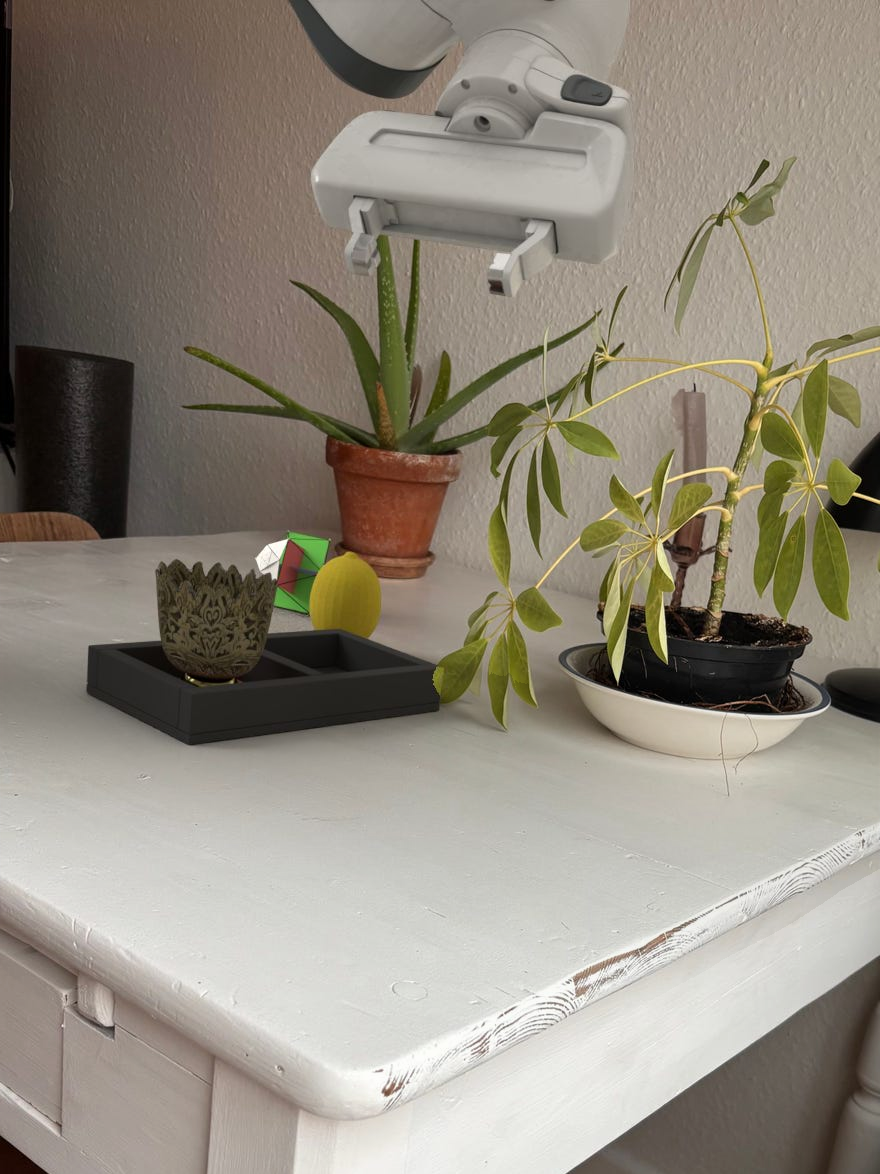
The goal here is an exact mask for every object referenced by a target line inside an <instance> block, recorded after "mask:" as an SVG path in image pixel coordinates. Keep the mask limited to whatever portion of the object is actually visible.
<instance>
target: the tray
mask: <svg viewBox="0 0 880 1174" xmlns="http://www.w3.org/2000/svg"><path fill="white" fill-rule="evenodd" d="M437 666H439V665H438V664H436V663H433V662H430V661H427V660H424V659H422V658H419V657H417V656H415V655H411V654H408V653H406V652H403V651H401V650H398V649H395V648H393V647H390V646H387V645H385V644H382V643H380V642H377V641H374V640H371V639H369V638H368V639H366V638H364V637H361V636H358V635H356V634H353V633H350V632H347V631H345V630H342V629H327V630H315V629H314V630H312V629H311V630H297V631H284V632H282V631H281V632H268V635H267V639H266V643H265V646H264V650H263V652H262V655H261V657H260V659H259V661H258V662H257V664H256V665H255V666H254V668H252V669H251V670H250V671H249V672H248V673H246V674H244V675H242V676H239V677H236V678H237V681H238V683H233V684H223V685H213V686H203V687H196V686H194V685H191V684H189V683H187V682H185V681H183V680H181V676H182V674H183V673H184V672H182V671H181V670H179V669H178V668H176V667H175V666H174V665H173V664H172V663H171V662H170V661H169V659H168V658H167V656H166V654H165V652H164V650H163V647H162V643H161V640H149V641H148V640H147V641H134V642H133V641H132V642H117V643H102V644H101V643H100V644H89V645H87V669H86V670H87V671H86V672H87V673H86V693H87V694H88V695H91V696H92V697H94V698H97V699H98V700H100V701H103V702H104V703H106V704H108V705H110V706H112V707H114V708H116V709H118V710H120V711H122V712H124V713H126V714H128V715H130V716H132V717H133V718H135V719H137V720H140V721H141V722H143V723H145V724H147V725H149V726H151V727H153V728H155V729H157V730H159V731H161V732H163V733H165V734H167V735H169V736H171V737H173V738H175V739H177V740H179V741H181V742H183V743H184V744H187V745H188V746H190V745H197V744H204V743H212V742H220V741H228V740H235V739H241V738H248V737H255V736H256V737H257V736H262V735H264V736H265V735H270V734H271V735H272V734H277V733H278V734H279V733H285V732H293V731H300V730H306V729H307V730H308V729H314V728H320V727H329V726H336V725H342V724H350V723H358V722H364V721H373V720H378V719H380V720H381V719H387V718H393V717H394V718H395V717H401V716H402V717H403V716H408V715H410V716H411V715H415V714H423V713H428V712H429V713H430V712H438V711H440V706H441V699H442V698H440V695H439V693H438V692H437V690H436V688H435V686H434V685H433V683H434V681H433V680H432V679H433V674H434V671H435V670H436V667H437Z"/></svg>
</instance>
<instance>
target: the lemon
mask: <svg viewBox="0 0 880 1174" xmlns="http://www.w3.org/2000/svg"><path fill="white" fill-rule="evenodd" d="M324 564H325V563H324ZM381 589H382V588H381V584H380V580H379V577H378V575H377V573H376V572H375V570H374V568H372V566H371V565H370V564H368V562H366V561H364V560H363V559H361V558H360V557H359V556H358V554H357V553H356V552H353V551H346V552H345V553H344V555H340V556H336V557H333V558H331V559H330V560H329V561H326V564H325V565H323V567H322V568H321V569H320V570H319V572H318V574H317V576H316V578H315V580H314V583H313V586H312V590H311V594H310V615H309V616H310V621H311V624H312V627H313V629H314V630H327V629H342V630H345V631H347V632H350V633H353V634H356V635H358V636H361V637H364V638H366V639H369V638H370V637H371V636H372V635H373V633H374V632H375V630H376V628H377V626H378V623H379V620H380V616H381V611H382V590H381Z"/></svg>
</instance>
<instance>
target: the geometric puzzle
mask: <svg viewBox="0 0 880 1174" xmlns="http://www.w3.org/2000/svg"><path fill="white" fill-rule="evenodd" d="M285 535H286V536H285ZM284 536H285V539H282V540H280V538H278V539H277V540H276V541H275V542H270V543H267V544H266V545H265V546H264V547H263V549H261V551H260V552H259V553H258V555H257V556H256V557H254V560H255V562H256V565H257V569H258V572H259V574H261V575H264V574H265V573H269V572H270V573H271V575H272V580H273V579H275V578H276V580H277V591H276V597H275V602H274V607H278V608H282V609H285V610H286V609H287V610H291V611H295V612H299V613H304V614H308V615H309V616H310V594H311V590H312V586H313V583H314V580H315V578H316V576H317V574H318V572H319V570H320V569H321V568H322V567H323V566H324V565H325V564H326V563H327V557H328V553H329V548H330V547H331V548H333V547H332V544H331V541H332V540H331V538H329V539H328V538H322V537H318V536H313V535H309V534H304V533H299V532H293V531H290V530H287V532H286V533H284V534H283V535H282V537H284ZM331 550H332V552H333V549H331ZM332 554H333V556H335V554H334V553H332Z"/></svg>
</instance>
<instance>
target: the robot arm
mask: <svg viewBox="0 0 880 1174" xmlns="http://www.w3.org/2000/svg"><path fill="white" fill-rule="evenodd" d="M287 1H288V3H289V4H290V6H291V8H292V10H293V11H294V14H295V15H296V17H297V19H298V21H299V23H300V25H301V27H302V29H303V31H304V32H305V34H306V36H307V38H308V40H309V42H310V45H311V46H312V48H313V49H314V51H315V53H316V54H317V55H318V57H319V59H320V60H321V61H322V63H323V64H324V65H325V67H326V68H327V69H328V70H329V72H331V74H333V75H334V76H335V77H336V78H337V79H338V80H339V81H340V82H342V83H344V84H345V85H346V86H348V87H350V88H352V89H354V90H355V91H358V92H361V93H363V94H365V95H368V96H372V97H376V98H380V99H387V100H396V99H401V98H405V97H407V96H409V95H411V94H412V93H414V92H416V90H418V88H419V87H420V86H421V85H422V84H423V83H424V82H425V80H426V79H427V78H429V76H430V75H431V74H432V73H433V71H434V70H435V69H436V68H437V67H438V66H439V65H440V64H441V63H442V62H443V61H444V59H446V58H447V55H448V54H449V53H450V52H451V51H452V50H453V49H454V48H456V46H458V44H460V43H461V42H462V43H463V47H464V54H463V56H462V58H461V60H460V62H459V64H458V65H457V68H456V69H455V71H454V72H453V74H452V75H451V77H450V79H449V81H448V83H447V84H446V86H445V88H444V90H443V91H442V93H441V95H440V96H439V99H438V101H437V102H436V106H435V109H434V114H427V113H426V114H425V113H409V112H399V111H394V110H372V111H368V112H367V111H366V112H363V113H362V114H359V115H358V116H357V117H355V118H353V119H352V120H351V121H350V122H349V123H347V125H346V126H344V128H343V129H342V130H341V131H340V132H339V133H338V134H337V136H336V137H335V138H334V139H333V140H332V142H331V143H329V145H328V146H327V148H326V149H325V150H324V151H323V153H322V154H321V156H320V157H319V158H318V159H317V161H316V163H315V164H314V166H313V167H312V170H311V173H310V184H311V188H312V193H313V196H314V200H315V204H316V207H317V209H318V212H319V214H320V216H321V218H322V220H323V222H324V224H325V225H326V227H329V228H331V229H335V230H342V231H343V230H344V231H350V232H351V233H352V235H351V237H350V239H349V240H348V241H347V244H346V246H345V248H344V251H343V259H344V263H345V266H346V269H347V273H349V274H350V275H357V276H366V277H373V275H374V274H375V269H377V268H378V267H379V265H380V264H381V261H382V259H381V254H380V250H378V248H377V247H378V242H377V239H378V238H379V236H380V235H381V236H388V237H394V238H401V239H409V240H416V241H422V242H425V241H426V242H429V243H430V242H431V243H438V244H445V245H454V246H461V247H467V248H475V249H481V250H489V251H497V252H496V253H495V254H494V257H493V259H492V263H491V264H490V265H489V267H488V269H487V274H486V279H487V283H488V284H489V288H488V291H489V293H490V295H496V296H502V297H508V298H515V297H516V295H517V293H518V291H519V289H520V287H521V285H522V283H523V281H526V280H528V279H530V278H532V277H533V276H534V275H536V274H538V273H539V272H541V271H543V270H544V269H546V268H547V267H549V266H550V265H551V264H552V261H553V259H554V260H555V259H556V260H563V261H569V262H576V263H577V262H578V263H585V264H591V265H600V264H602V263H604V262H606V261H609V260H610V259H612V258H614V257H615V256H616V255H618V253H619V251H620V250H621V247H622V245H623V242H624V240H625V237H626V235H627V231H628V227H629V224H630V220H631V215H632V192H633V189H634V186H635V180H636V168H637V167H636V166H637V161H636V160H637V141H636V127H635V117H634V111H633V104H632V100H631V95H630V94H629V92H628V91H627V90H626V89H624V88H622V87H620V86H616V85H614V84H611V83H608V82H607V81H608V78H609V76H610V74H611V72H612V70H613V67H614V65H615V63H616V60H617V58H618V57H619V56H618V55H619V53H620V51H621V48H622V45H623V41H624V40H625V36H626V32H627V28H628V25H629V19H630V15H631V13H630V12H631V3H632V2H631V1H632V0H287Z"/></svg>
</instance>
